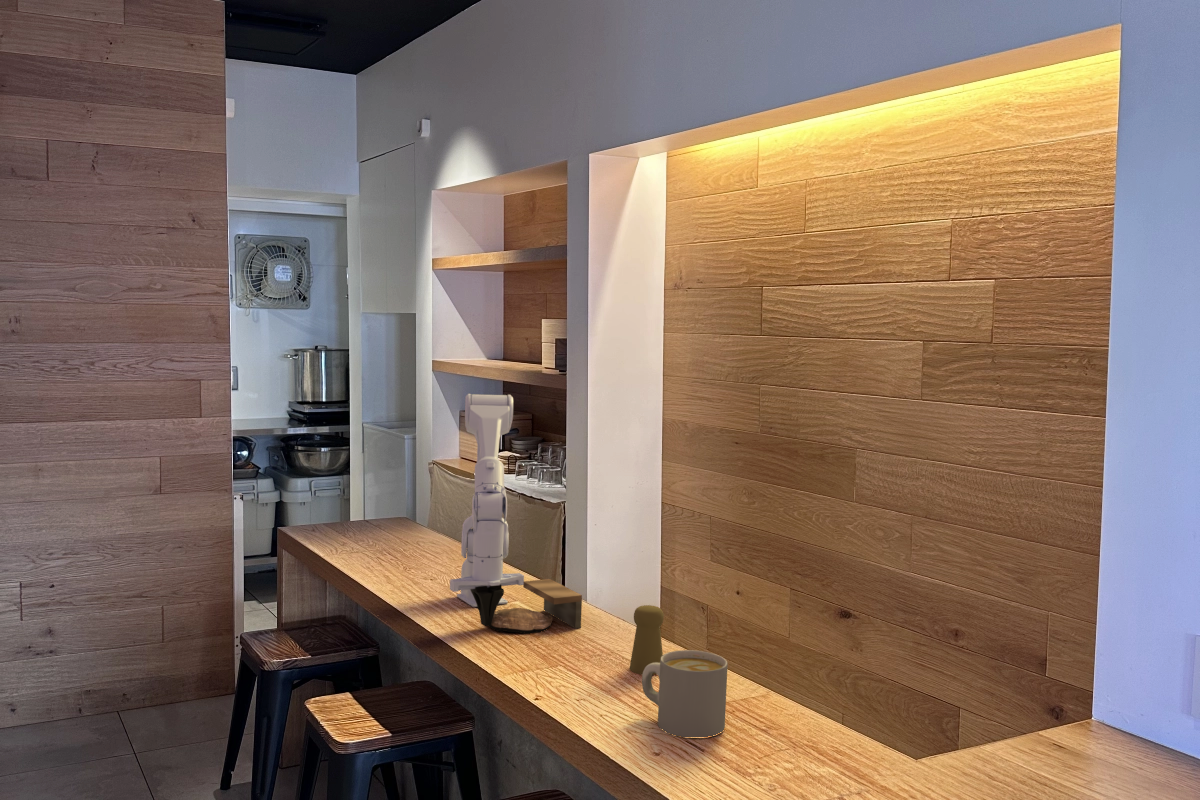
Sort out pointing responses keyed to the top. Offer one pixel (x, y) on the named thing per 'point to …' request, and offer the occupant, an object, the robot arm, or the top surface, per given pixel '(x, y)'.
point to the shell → (520, 621)
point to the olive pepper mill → (647, 638)
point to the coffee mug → (689, 692)
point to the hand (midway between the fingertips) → (486, 624)
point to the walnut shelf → (558, 600)
